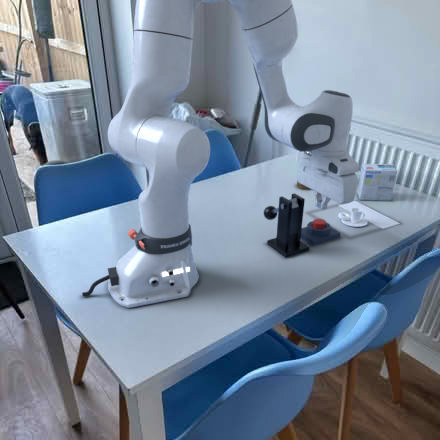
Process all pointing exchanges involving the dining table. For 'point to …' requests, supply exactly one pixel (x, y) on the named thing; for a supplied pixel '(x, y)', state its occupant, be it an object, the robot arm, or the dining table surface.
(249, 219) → the dining table surface
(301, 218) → the switch bracket
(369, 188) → the light bulb box
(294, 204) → the lever
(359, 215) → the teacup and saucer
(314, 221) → the button
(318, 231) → the button housing
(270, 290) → the dining table surface
